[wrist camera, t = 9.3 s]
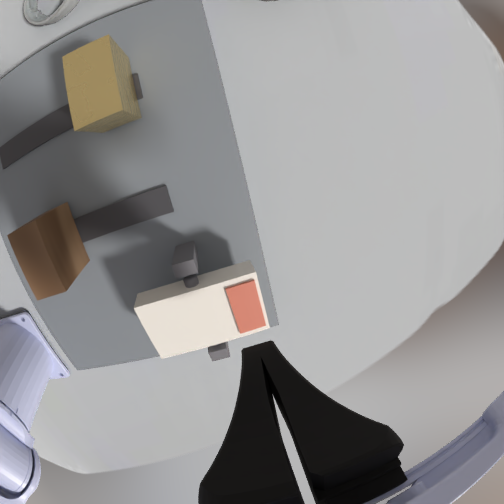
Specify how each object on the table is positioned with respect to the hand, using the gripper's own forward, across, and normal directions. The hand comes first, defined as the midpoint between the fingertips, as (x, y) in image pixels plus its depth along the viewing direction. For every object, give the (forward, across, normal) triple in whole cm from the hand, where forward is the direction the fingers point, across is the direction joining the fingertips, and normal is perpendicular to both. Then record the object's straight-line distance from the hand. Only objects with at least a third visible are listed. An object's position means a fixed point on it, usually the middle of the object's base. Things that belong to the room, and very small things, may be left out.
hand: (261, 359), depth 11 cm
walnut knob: (+7, +10, -7) cm, 14 cm away
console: (+9, +7, -8) cm, 14 cm away
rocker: (+5, +2, 0) cm, 6 cm away
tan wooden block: (+7, +4, -14) cm, 16 cm away
